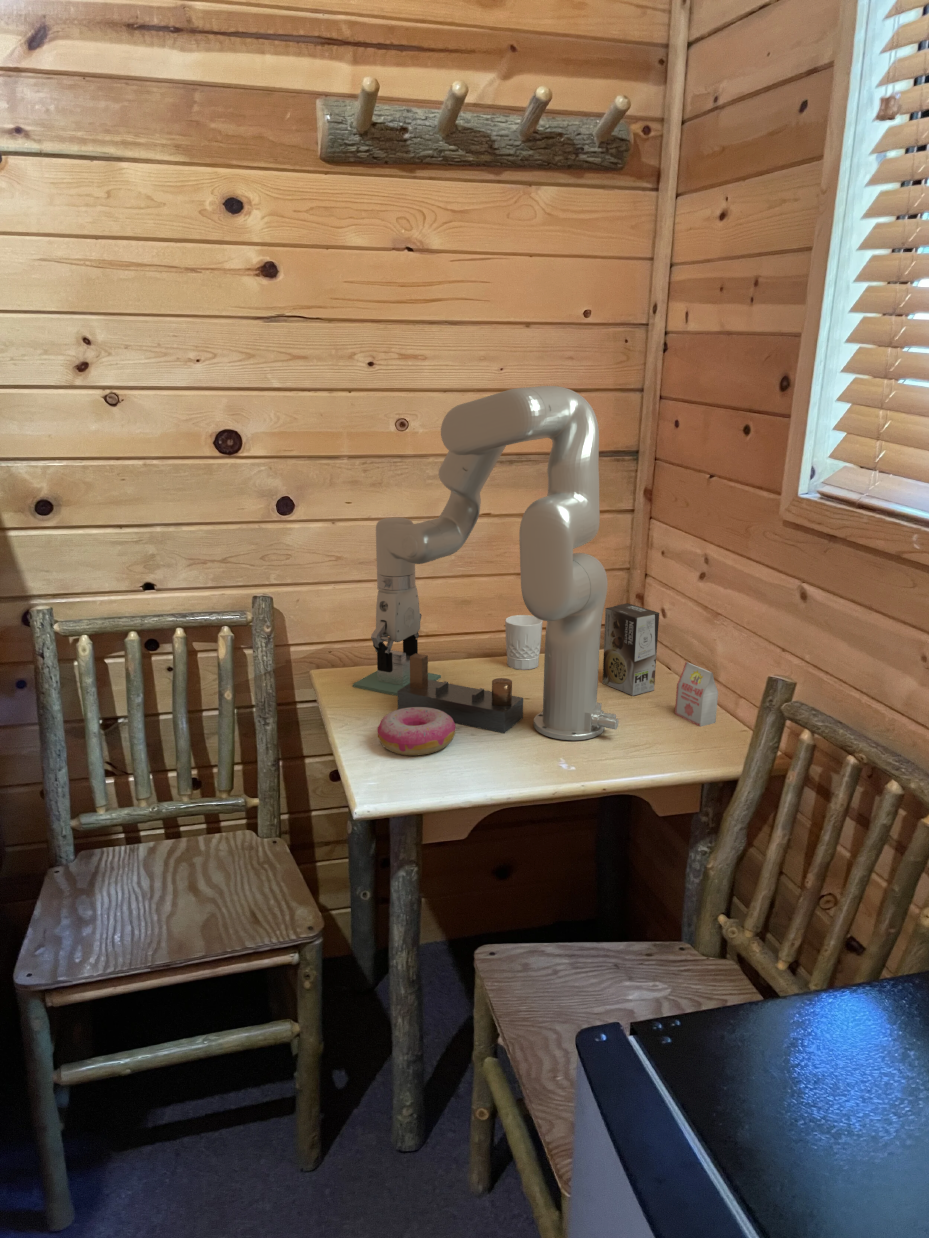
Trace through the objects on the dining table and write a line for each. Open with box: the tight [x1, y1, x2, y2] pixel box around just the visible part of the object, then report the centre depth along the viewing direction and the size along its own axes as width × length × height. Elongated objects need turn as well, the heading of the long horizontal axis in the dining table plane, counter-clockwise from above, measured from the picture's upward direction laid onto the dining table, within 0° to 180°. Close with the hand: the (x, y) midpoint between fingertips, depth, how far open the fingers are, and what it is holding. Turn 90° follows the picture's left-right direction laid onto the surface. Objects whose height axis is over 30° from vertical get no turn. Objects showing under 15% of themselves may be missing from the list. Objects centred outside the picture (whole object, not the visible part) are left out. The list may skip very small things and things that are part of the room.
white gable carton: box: [674, 661, 719, 727], centre depth 169 cm, size 4×7×10 cm, turn 30°
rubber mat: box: [352, 670, 442, 697], centre depth 187 cm, size 13×13×1 cm
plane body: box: [397, 653, 524, 734], centre depth 170 cm, size 22×8×10 cm, turn 63°
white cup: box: [504, 614, 544, 671], centre depth 197 cm, size 8×8×10 cm
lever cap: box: [376, 649, 410, 686], centre depth 186 cm, size 6×5×6 cm
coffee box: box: [601, 602, 660, 697], centre depth 183 cm, size 9×6×16 cm
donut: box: [377, 707, 456, 756], centre depth 158 cm, size 14×13×5 cm
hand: (398, 663), depth 186 cm, fingers open, 9 cm apart
